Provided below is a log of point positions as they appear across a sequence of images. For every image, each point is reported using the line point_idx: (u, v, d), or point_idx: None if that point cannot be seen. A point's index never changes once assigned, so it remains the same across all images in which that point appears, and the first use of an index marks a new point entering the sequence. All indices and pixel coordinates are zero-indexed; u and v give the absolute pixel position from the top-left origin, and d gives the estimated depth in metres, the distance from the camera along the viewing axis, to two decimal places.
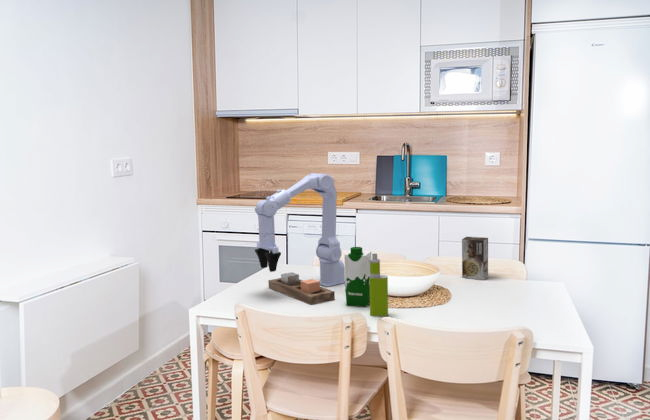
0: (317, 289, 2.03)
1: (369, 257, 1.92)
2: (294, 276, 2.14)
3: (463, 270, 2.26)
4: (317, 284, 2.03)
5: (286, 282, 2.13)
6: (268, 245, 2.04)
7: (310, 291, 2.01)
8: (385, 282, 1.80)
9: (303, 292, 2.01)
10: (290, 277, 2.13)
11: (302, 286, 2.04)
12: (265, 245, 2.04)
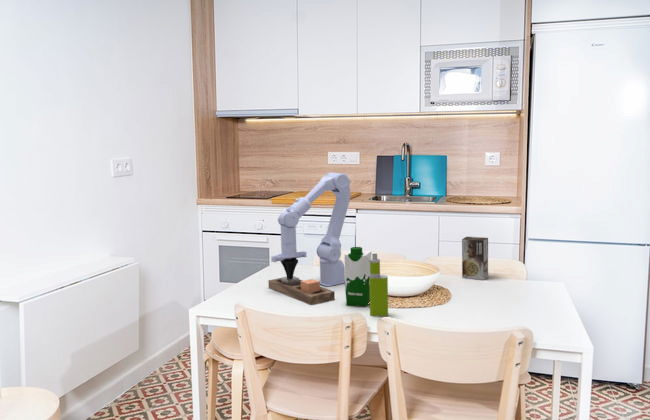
0: (317, 289, 2.03)
1: (369, 257, 1.92)
2: (294, 279, 2.14)
3: (463, 269, 2.26)
4: (317, 284, 2.03)
5: None
6: (281, 254, 2.13)
7: (310, 291, 2.01)
8: (385, 282, 1.80)
9: (303, 292, 2.01)
10: (290, 280, 2.13)
11: (302, 286, 2.04)
12: None
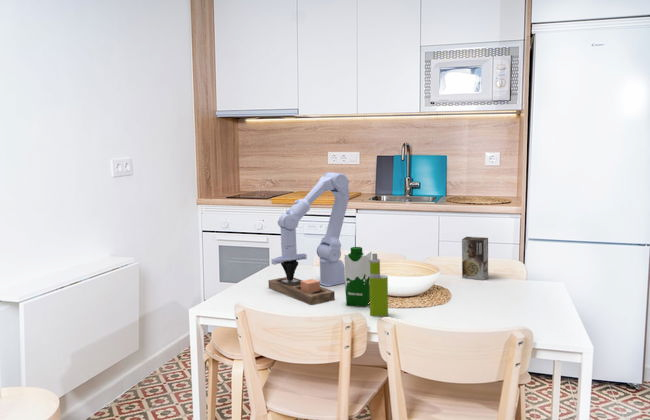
0: (317, 289, 2.03)
1: (369, 257, 1.92)
2: (294, 282, 2.14)
3: (463, 270, 2.26)
4: (317, 284, 2.03)
5: None
6: (281, 256, 2.14)
7: (310, 291, 2.01)
8: (385, 282, 1.80)
9: (303, 292, 2.01)
10: (290, 283, 2.13)
11: (302, 286, 2.04)
12: None
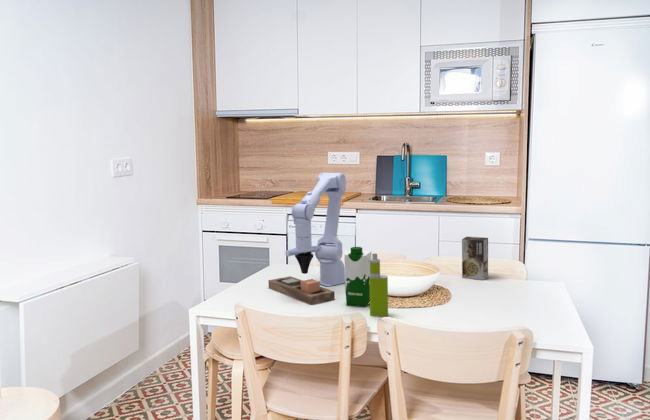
0: (317, 289, 2.03)
1: (369, 257, 1.92)
2: (294, 282, 2.14)
3: (463, 270, 2.26)
4: (317, 284, 2.03)
5: None
6: (296, 248, 2.04)
7: (310, 291, 2.01)
8: (385, 282, 1.80)
9: (303, 292, 2.01)
10: (290, 283, 2.13)
11: (302, 286, 2.04)
12: None
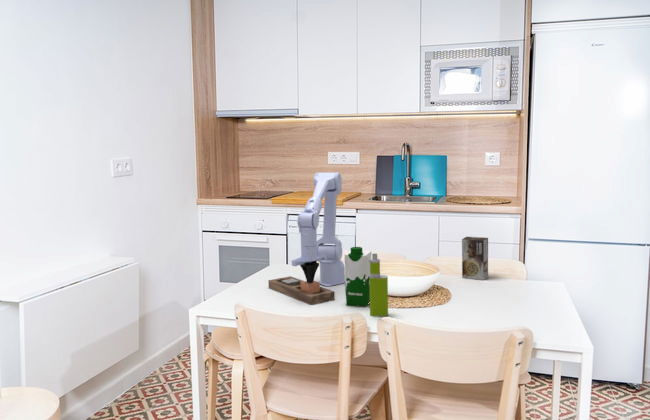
0: (317, 290, 2.03)
1: (369, 257, 1.92)
2: (294, 282, 2.14)
3: (463, 270, 2.26)
4: (317, 285, 2.03)
5: None
6: (301, 257, 2.02)
7: (310, 292, 2.02)
8: (385, 282, 1.80)
9: (303, 292, 2.01)
10: (290, 283, 2.13)
11: (302, 287, 2.04)
12: (301, 256, 2.03)
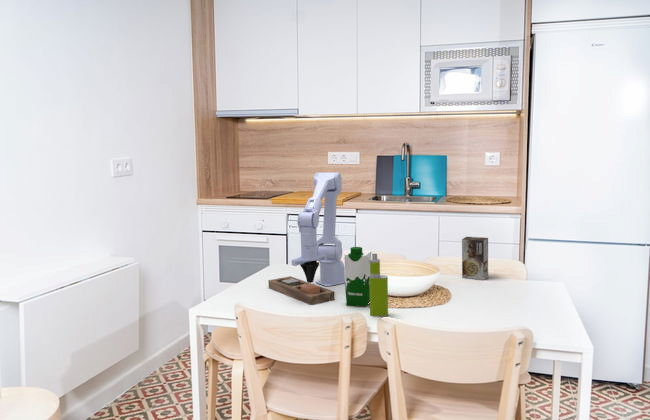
0: None
1: (369, 257, 1.92)
2: (294, 282, 2.14)
3: (463, 270, 2.26)
4: (317, 288, 2.03)
5: None
6: (301, 257, 2.02)
7: None
8: (385, 282, 1.80)
9: (303, 292, 2.01)
10: (290, 283, 2.13)
11: None
12: (301, 256, 2.03)
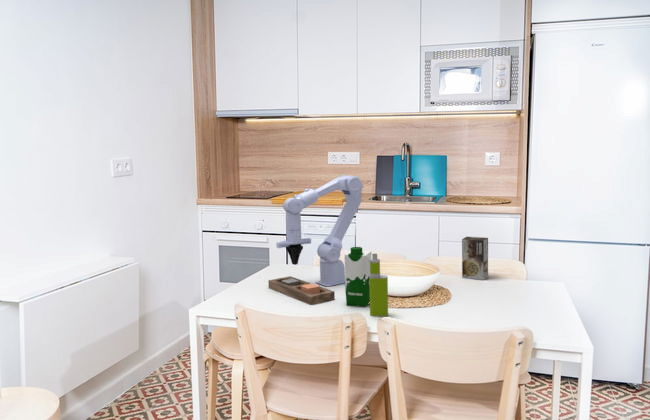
0: None
1: (369, 257, 1.92)
2: (294, 282, 2.14)
3: (463, 270, 2.26)
4: (317, 288, 2.03)
5: None
6: (286, 240, 2.15)
7: None
8: (385, 282, 1.80)
9: (303, 292, 2.01)
10: (290, 283, 2.13)
11: None
12: None
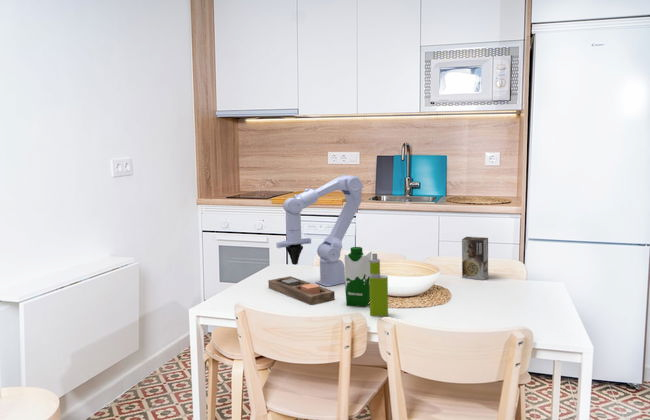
0: None
1: (369, 257, 1.92)
2: (294, 282, 2.14)
3: (463, 270, 2.26)
4: (317, 288, 2.03)
5: None
6: (286, 240, 2.15)
7: None
8: (385, 282, 1.80)
9: (303, 292, 2.01)
10: (290, 283, 2.13)
11: None
12: None
